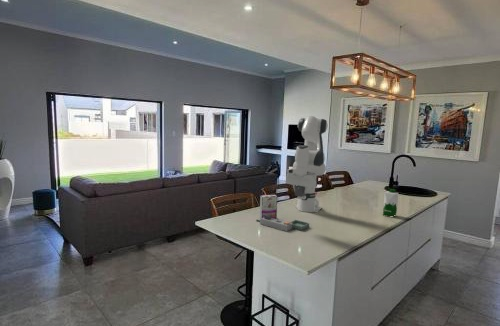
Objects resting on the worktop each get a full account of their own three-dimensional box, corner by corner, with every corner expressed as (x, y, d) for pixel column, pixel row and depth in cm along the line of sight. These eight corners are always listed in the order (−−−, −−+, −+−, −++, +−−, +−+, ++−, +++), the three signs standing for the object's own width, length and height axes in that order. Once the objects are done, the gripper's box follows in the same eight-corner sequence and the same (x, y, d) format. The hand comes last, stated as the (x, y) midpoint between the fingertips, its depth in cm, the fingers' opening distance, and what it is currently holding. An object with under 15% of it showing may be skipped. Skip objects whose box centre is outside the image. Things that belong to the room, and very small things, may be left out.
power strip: (253, 222, 195) (253, 214, 194) (259, 219, 200) (259, 211, 200) (286, 231, 179) (287, 222, 179) (292, 228, 185) (292, 220, 184)
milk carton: (397, 215, 223) (399, 190, 220) (393, 218, 216) (395, 191, 214) (385, 213, 229) (387, 188, 227) (381, 215, 222) (383, 189, 220)
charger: (294, 198, 185) (294, 186, 184) (298, 197, 189) (298, 185, 188) (301, 200, 182) (302, 187, 181) (305, 198, 186) (305, 186, 185)
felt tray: (295, 223, 195) (295, 219, 195) (309, 226, 189) (309, 223, 189) (287, 227, 187) (287, 223, 187) (301, 230, 181) (301, 226, 181)
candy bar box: (274, 217, 208) (275, 194, 206) (276, 219, 203) (277, 196, 201) (259, 217, 205) (260, 194, 203) (261, 220, 200) (262, 196, 198)
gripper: (318, 172, 180) (317, 194, 182) (290, 168, 193) (288, 189, 194) (314, 173, 175) (313, 196, 177) (285, 169, 188) (284, 190, 189)
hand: (300, 192), depth 185 cm, fingers closed on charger, 5 cm apart
